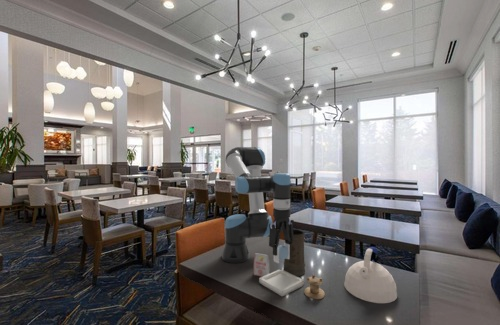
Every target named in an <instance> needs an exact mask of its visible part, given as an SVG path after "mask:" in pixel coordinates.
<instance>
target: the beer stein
mask: <svg viewBox="0 0 500 325" xmlns="http://www.w3.org/2000/svg"><path fill="white" fill-rule="evenodd" d="M305 234H306V233H305V231H303V230H301V229H294V228H293V238H294V241H293V242H292V244H290V259H284V260H283V269H282V270H284V271H286V272H288V273H290V274H292V275H294V276H296V277H299V276H303V275H304V274H306V263H305V237H306V235H305ZM284 243H286V242H285V241H284Z"/></svg>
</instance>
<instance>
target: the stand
mask: <svg viewBox="0 0 500 325" xmlns="http://www.w3.org/2000/svg"><path fill="white" fill-rule="evenodd" d="M306 281H307V283H308V284H309V286H308V287H306V288H304V294H305V296H306V297H307V298H310V299H313V300H321V299H323V298H324V297H326V296H325V295H326V294H325V291H324V290H323V289H322V288H320V286H321V285H322V284H323V278H322V277H317V276H315V274H311V276H308V277H306Z"/></svg>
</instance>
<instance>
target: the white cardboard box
mask: <svg viewBox="0 0 500 325" xmlns="http://www.w3.org/2000/svg"><path fill="white" fill-rule="evenodd" d="M270 263H271V262H270V258H269V255H268V254H264V253H257V252H255V253H254V258H253V276H257V277H263V276H265V275H267V274H270V267H271V266H270V265H271V264H270Z"/></svg>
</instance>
